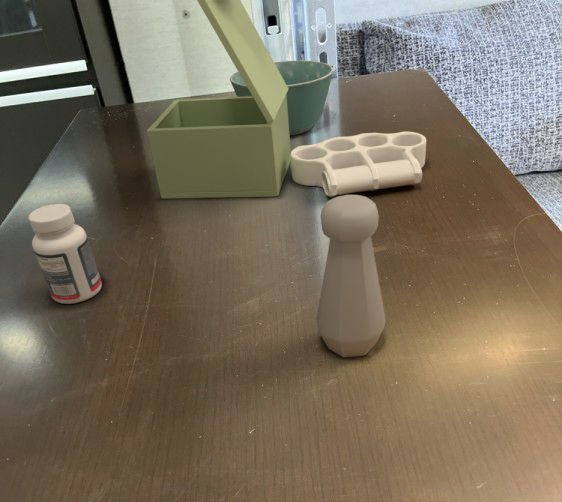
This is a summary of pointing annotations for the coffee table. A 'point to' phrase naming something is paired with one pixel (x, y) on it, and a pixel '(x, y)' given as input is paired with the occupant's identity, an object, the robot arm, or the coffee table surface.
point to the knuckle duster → (360, 162)
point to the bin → (219, 149)
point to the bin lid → (247, 53)
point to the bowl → (298, 91)
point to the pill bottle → (64, 254)
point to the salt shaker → (350, 278)
